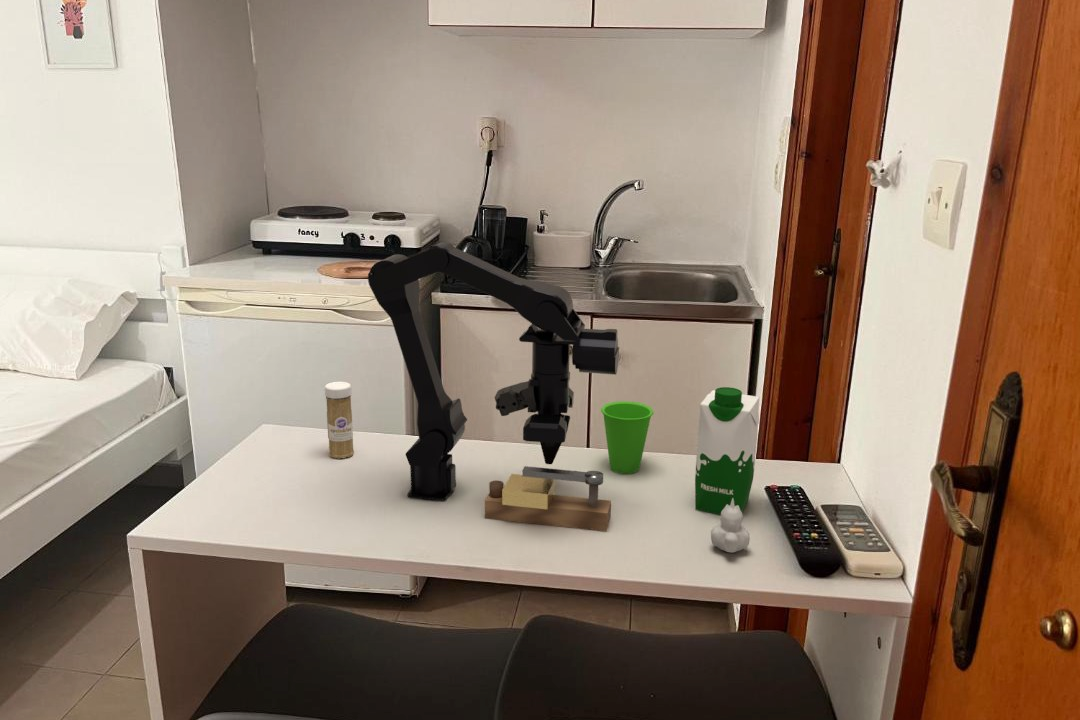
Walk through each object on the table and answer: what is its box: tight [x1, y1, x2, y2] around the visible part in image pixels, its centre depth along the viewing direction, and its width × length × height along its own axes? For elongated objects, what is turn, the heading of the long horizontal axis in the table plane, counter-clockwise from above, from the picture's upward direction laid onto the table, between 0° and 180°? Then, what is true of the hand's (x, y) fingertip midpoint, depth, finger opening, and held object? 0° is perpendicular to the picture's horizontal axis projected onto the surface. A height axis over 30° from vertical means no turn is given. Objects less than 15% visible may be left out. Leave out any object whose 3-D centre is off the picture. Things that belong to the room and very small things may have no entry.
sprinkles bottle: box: [324, 381, 355, 459], centre depth 153 cm, size 5×5×14 cm
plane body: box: [484, 480, 612, 532], centre depth 131 cm, size 19×4×7 cm, turn 78°
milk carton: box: [694, 386, 760, 516], centre depth 134 cm, size 9×9×20 cm
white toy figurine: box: [710, 499, 751, 553], centre depth 121 cm, size 5×7×8 cm
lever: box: [521, 465, 604, 486], centre depth 129 cm, size 12×3×1 cm, turn 78°
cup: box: [600, 401, 654, 475], centre depth 149 cm, size 9×9×11 cm
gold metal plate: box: [502, 473, 556, 509], centre depth 131 cm, size 7×6×2 cm
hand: (549, 463), depth 135 cm, fingers closed
